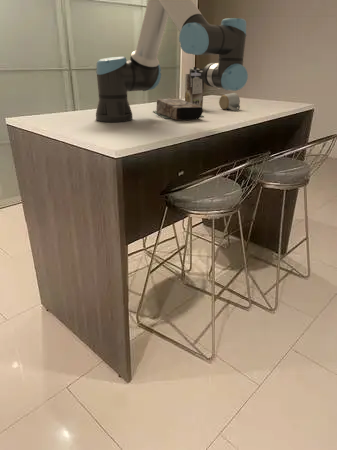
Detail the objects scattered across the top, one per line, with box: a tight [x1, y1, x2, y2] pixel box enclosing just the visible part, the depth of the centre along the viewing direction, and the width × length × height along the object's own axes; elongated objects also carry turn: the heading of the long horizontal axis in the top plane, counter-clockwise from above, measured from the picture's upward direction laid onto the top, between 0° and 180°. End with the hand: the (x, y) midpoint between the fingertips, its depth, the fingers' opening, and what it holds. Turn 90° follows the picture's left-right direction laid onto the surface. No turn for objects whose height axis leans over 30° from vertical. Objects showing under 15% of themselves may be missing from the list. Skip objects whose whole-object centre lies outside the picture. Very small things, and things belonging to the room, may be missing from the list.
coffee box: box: [184, 73, 205, 109], centre depth 172 cm, size 9×6×16 cm
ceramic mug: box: [218, 92, 241, 112], centre depth 170 cm, size 11×8×8 cm
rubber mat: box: [152, 110, 205, 120], centre depth 156 cm, size 18×20×1 cm
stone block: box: [155, 98, 204, 121], centre depth 148 cm, size 13×7×20 cm
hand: (191, 71), depth 135 cm, fingers closed
